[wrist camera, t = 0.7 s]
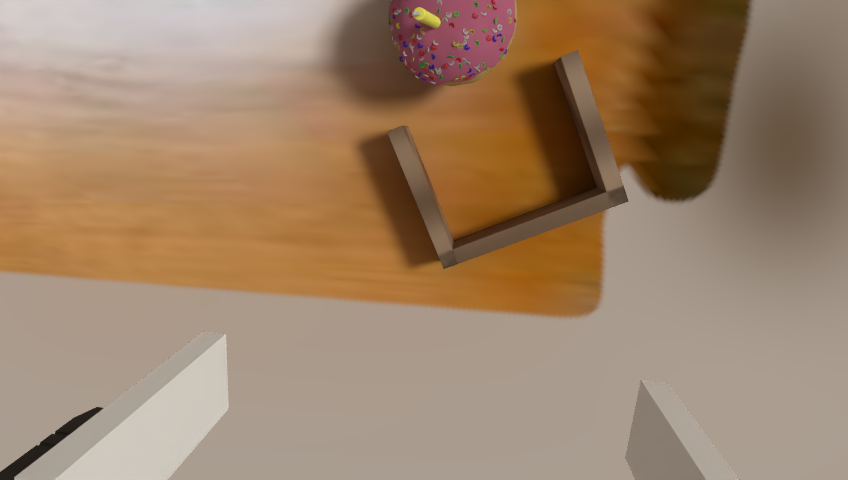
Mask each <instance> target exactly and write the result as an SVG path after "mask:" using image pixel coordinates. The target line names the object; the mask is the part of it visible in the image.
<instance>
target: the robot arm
mask: <svg viewBox="0 0 848 480" xmlns="http://www.w3.org/2000/svg"><path fill="white" fill-rule="evenodd" d="M227 381H228V379H227V353H226V334H222V333H212V332H204V331H203V332H202V333H201V334H199V335H198V336H197V337H196V338H194V339H193V340H192V341H191V342H189V343H188V344H187V345H186V346H184V347H183V348H181V349H180V350H179V351H177V352H176V353H175V354H174V355H173V356H171V357H170V358H168V359H167V360H166V361H165V362H163V363H162V364H161V365H159V366H158V367H157V368H155V369H154V370H153V371H151V372H150V373H149V374H148V375H146V376H145V377H144V378H143V379H141V380H140V381H139V382H137V383H136V384H135V385H133V386H132V387H131V388H129V389H128V390H127V391H126V392H124V393H123V394H122V395H120V396H119V397H118V398H116V399H115V400H114V401H113V402H111V403H110V404H109V405H107V406H106V407H105V408H100V407H96V408H94V409H92V410H90V411H88V412H85V413H83V414H82V415H79V416H77V417H75V418H73V419H72V420H70V421H69V422H68V423H66V424H65V425H63V426H62V427H61V428H59V429H58V430H57V431H56V432H55V434H51V435H50V436H48V437H47V438H46V439H44V440H43V441H42V442H41V443H40V445H39V446H37V445H36V446H35V447H34V448H33V449H31V450H30V451H28V452H27V453H25V454H24V455H23V456H21V457H20V458H19V459H17V460H16V461H15V462H13V463H12V464H11V465H9V466H8V467H6V468H5V469H4V470H2V471H1V472H0V480H168V478H169V477H170V476H171V475H172V474H173V473H174V472H175V470H176V469H177V468H178V467H179V466H180V465H181V463H182V462H183V461H184V460H185V459H186V458H187V456H188V455H189V454H190V453H191V452H192V451H193V449H194V448H195V447H196V446H197V445H198V444H199V442H200V441H201V440H202V439H203V438H204V437H205V435H206V434H207V433H208V432H209V431H210V430H211V428H212V427H213V426H214V425H215V424H216V423H217V421H218V420H219V419H220V418H221V417H222V416H223V414H224V413H225V412H226V411H227V410H228V408H229V407H228V382H227ZM625 458H626V460H627V463H628V465H629V467H630V469H631V471H632V474H633V476H634V478H635V480H739V479H738V477H737V476H736V475H735V473H734V472H733V471H732V469H731V468H730V467H729V465H728V464H727V463H726V461H725V460H724V459H723V457H722V456H721V455H720V453H719V452H718V451H717V449H716V448H715V447H714V445H713V444H712V443H711V441H710V440H709V439H708V437H707V436H706V434H705V433H704V432H703V430H702V429H701V428H700V426H699V425H698V424H697V422H696V421H695V420H694V418H693V417H692V416H691V414H690V413H689V412H688V410H687V409H686V408H685V406H684V405H683V404H682V402H681V401H680V400H679V398H678V397H677V396H676V394H675V393H674V392H673V390H672V389H671V388H670V386H669V385H668V384H667V383H663V382H654V381H645V380H641V382H640V387H639V392H638V397H637V402H636V407H635V412H634V417H633V422H632V427H631V432H630V437H629V442H628V447H627V452H626V457H625Z"/></svg>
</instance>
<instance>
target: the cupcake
mask: <svg viewBox="0 0 848 480" xmlns="http://www.w3.org/2000/svg"><path fill="white" fill-rule="evenodd" d="M389 25H390V33H391V37H392V41H393V44H394V46H395V49H396V51H397V53H398V55H399V57H400V60H401V61H402V62H403V63H404V64H405V66H406V67H407V68H408V69H409V70H410V72H411V73H412V74H413V75H414V76H415V77H416V78H418V79H420V80H421V81H423V82H426V83H428V84H431V85H439V84H442V85H447V86H456V85H462V84H468V83H473V82H475V81H478V80H479V79H481V78H483V77H484V76H485V75H486V74H488V73H489V72H490V71H491V70H492V69H493V68H494V67H495V66H496V65H497V64H498V63H499V62H500V61H501V60H502V59H503V58H504V57H505V55H506V54H507V51H508V49H509V47H510V44H511V42H512V40H513V37H514V34H515V30H516V25H517V7H516V0H390V7H389Z"/></svg>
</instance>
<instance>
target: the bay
mask: <svg viewBox="0 0 848 480" xmlns="http://www.w3.org/2000/svg"><path fill="white" fill-rule="evenodd" d="M554 65H555V68H556V71H557V74H558V76H559V79H560V82H561V85H562V88H563V91H564V94H565V97H566V100H567V103H568V105H569V108H570V111H571V114H572V117H573V120H574V123H575V126H576V129H577V132H578V134H579V137H580V140H581V143H582V146H583V149H584V152H585V155H586V158H587V161H588V163H589V166H590V169H591V172H592V175H593V178H594V181H595V184H596V188H594V189H591V190H588V191H586V192H583V193H580V194H578V195H575V196H572V197H570V198H567V199H564V200H562V201H559V202H556V203H554V204H551V205H548V206H546V207H543V208H540V209H538V210H535V211H532V212H530V213H527V214H524V215H522V216H519V217H516V218H514V219H511V220H508V221H506V222H503V223H501V224H498V225H495V226H493V227H490V228H487V229H485V230H482V231H479V232H477V233H474V234H471V235H469V236H466V237H463V238H461V239H458V240H455V241H454V239H453V237H452V234H451V232H450V229H449V227H448V224H447V222H446V220H445V217H444V215H443V212H442V210H441V207H440V205H439V202H438V200H437V197H436V195H435V192H434V190H433V187H432V185H431V183H430V180H429V178H428V175H427V173H426V170H425V168H424V165H423V163H422V160H421V158H420V155H419V153H418V150H417V148H416V146H415V143H414V141H413V138H412V136H411V133H410V131H409V128H408V126H401V127H398V128H396V129H394V130H391V131H389V132H387V133H388V136H389V138H390V140H391V143H392V145H393V148H394V150H395V152H396V155H397V157H398V160H399V162H400V165H401V167H402V169H403V172H404V174H405V177H406V179H407V181H408V184H409V186H410V189H411V191H412V194H413V196H414V198H415V201H416V203H417V206H418V208H419V210H420V213H421V215H422V218H423V220H424V223H425V225H426V227H427V230H428V232H429V235H430V237H431V239H432V242H433V244H434V247H435V249H436V252H437V254H438V256H439V259H440V261H441V264H442V266H443V268H444V269H445V268H448V267H450V266H453V265H456V264H459V263H461V262H464V261H467V260H470V259H472V258H475V257H478V256H480V255H483V254H486V253H489V252H491V251H494V250H497V249H500V248H502V247H505V246H508V245H510V244H513V243H516V242H519V241H521V240H524V239H527V238H530V237H532V236H535V235H538V234H540V233H543V232H546V231H549V230H551V229H554V228H557V227H560V226H562V225H565V224H568V223H571V222H573V221H576V220H579V219H581V218H584V217H587V216H590V215H592V214H595V213H598V212H601V211H603V210H606V209H609V208H611V207H614V206H617V205H620V204H622V203H625V202H628V199H627V195H626V192H625V189H624V186H623V183H622V180H621V177H620V174H619V171H618V168H617V165H616V162H615V159H614V156H613V153H612V150H611V147H610V144H609V141H608V138H607V135H606V132H605V129H604V126H603V123H602V120H601V117H600V114H599V111H598V108H597V105H596V102H595V99H594V97H593V94H592V91H591V88H590V85H589V82H588V79H587V76H586V73H585V70H584V67H583V64H582V61H581V58H580V55H579V52H578V50H576V51H574V52H572V53H569V54H567V55H565V56H562V57H560V58H559V59H558V60H557V61H556V62H555V63H554Z"/></svg>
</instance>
